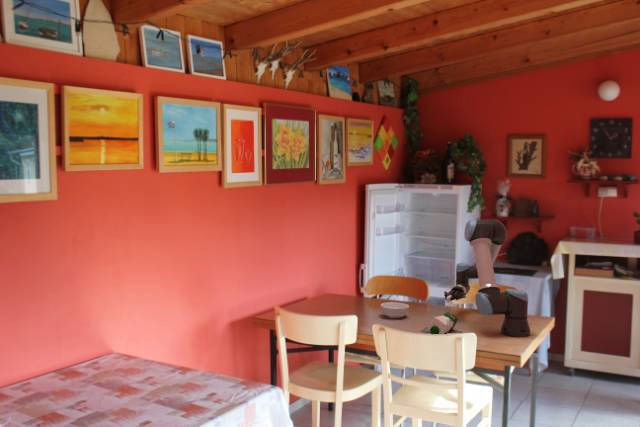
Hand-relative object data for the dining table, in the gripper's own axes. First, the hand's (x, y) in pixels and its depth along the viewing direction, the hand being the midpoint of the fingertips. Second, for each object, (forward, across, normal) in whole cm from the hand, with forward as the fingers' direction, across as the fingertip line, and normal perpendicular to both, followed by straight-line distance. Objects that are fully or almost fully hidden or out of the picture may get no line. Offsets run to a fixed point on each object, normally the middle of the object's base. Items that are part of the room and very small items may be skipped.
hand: (447, 300), depth 353 cm
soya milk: (+7, -4, -10) cm, 13 cm away
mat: (+15, -1, -14) cm, 21 cm away
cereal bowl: (-6, +33, -15) cm, 36 cm away
